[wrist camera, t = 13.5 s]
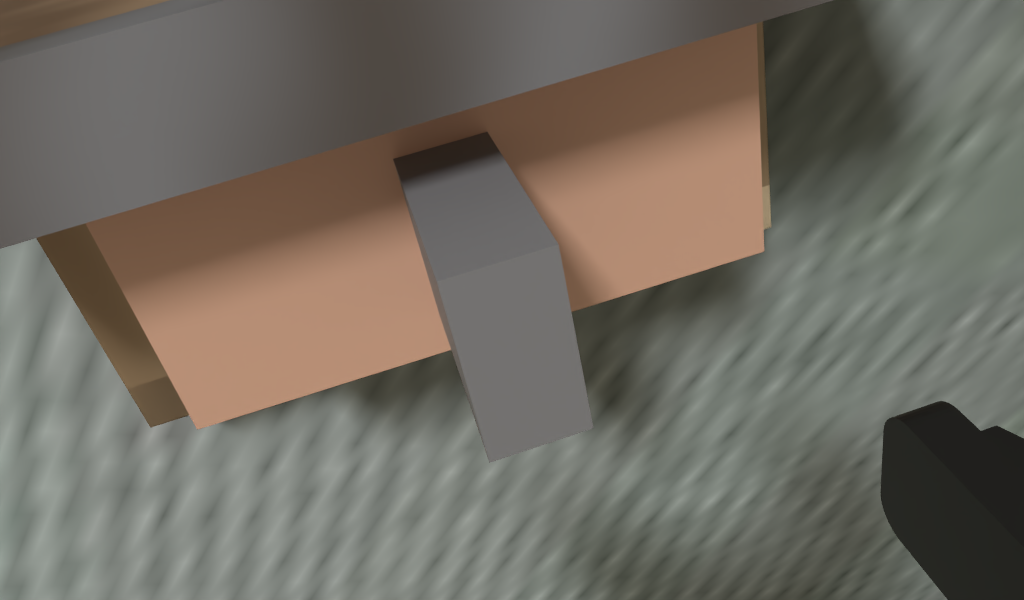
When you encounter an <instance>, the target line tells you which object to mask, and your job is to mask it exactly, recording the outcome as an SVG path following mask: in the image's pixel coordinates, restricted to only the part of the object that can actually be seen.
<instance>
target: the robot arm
mask: <svg viewBox="0 0 1024 600" xmlns="http://www.w3.org/2000/svg"><path fill="white" fill-rule="evenodd" d="M881 501H882V505H883V509H884V512H885V515H886V517H887V519H888V522H889V524H890V526H891V527H892V529H893V531H894V533H895V534H896V536H897V537H898V538H899V540H900V541H901V542H902V544H903V545H904V546H905V547H906V549H907V550H908V551H909V552H910V553H911V555H912V556H913V557H914V558H915V560H916V561H917V562H918V563H919V565H920V566H921V567H922V568H923V570H924V571H925V572H926V573H927V574H928V576H929V577H930V578H931V579H932V581H933V582H934V583H935V584H936V586H937V587H938V588H939V589H940V591H941V592H942V593H943V594H944V595H945V597H946V598H947V599H948V600H1024V439H1023V438H1021V437H1019V436H1017V435H1015V434H1013V433H1011V432H1009V431H1007V430H1005V429H1003V428H1001V427H999V426H994V427H991V428H988V429H986V430H983V431H980V430H979V429H978V428H977V427H976V426H975V425H974V424H973V423H972V422H970V421H969V420H968V419H967V418H966V417H965V416H964V415H963V414H962V413H961V412H960V411H959V410H958V409H957V408H955V407H954V406H953V405H951V404H949V403H947V402H944V401H939V402H936V403H933V404H930V405H927V406H924V407H921V408H918V409H915V410H912V411H909V412H907V413H904V414H901V415H898V416H895V417H892V418H889V419H888V420H887V421H886V422H885V425H884V434H883V454H882V475H881Z"/></svg>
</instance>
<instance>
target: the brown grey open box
mask: <svg viewBox="0 0 1024 600" xmlns="http://www.w3.org/2000/svg"><path fill="white" fill-rule="evenodd" d="M830 1H833V0H0V249H1V248H4V247H7V246H11V245H14V244H17V243H21V242H24V241H27V240H31V239H34V238H37V240H38V242H39V243H40V245H41V247H42V248H43V250H44V252H45V253H46V255H47V257H48V258H49V260H50V262H51V263H52V265H53V267H54V268H55V270H56V272H57V273H58V275H59V277H60V278H61V280H62V281H63V283H64V285H65V286H66V288H67V290H68V291H69V293H70V295H71V296H72V298H73V300H74V301H75V303H76V305H77V306H78V308H79V310H80V311H81V313H82V315H83V316H84V318H85V320H86V321H87V323H88V325H89V326H90V328H91V330H92V331H93V333H94V335H95V336H96V338H97V339H98V341H99V343H100V344H101V346H102V348H103V349H104V351H105V353H106V354H107V356H108V358H109V359H110V361H111V363H112V364H113V366H114V368H115V369H116V371H117V373H118V374H119V376H120V378H121V379H122V381H123V383H124V384H125V386H126V388H127V389H128V391H129V393H130V394H131V396H132V397H133V399H134V401H135V402H136V404H137V406H138V407H139V409H140V411H141V412H142V414H143V416H144V417H145V419H146V421H147V422H148V424H149V426H150V427H154V426H157V425H160V424H163V423H166V422H169V421H173V420H176V419H179V418H182V417H185V416H188V415H189V413H188V411H187V410H186V408H185V406H184V404H183V402H182V400H181V399H180V397H179V395H178V393H177V391H176V389H175V388H174V386H173V384H172V382H171V380H170V378H169V376H168V375H167V373H166V371H165V369H164V367H163V365H162V364H161V362H160V360H159V358H158V356H157V354H156V353H155V351H154V349H153V347H152V345H151V343H150V342H149V340H148V338H147V336H146V334H145V332H144V330H143V329H142V327H141V325H140V323H139V321H138V319H137V318H136V316H135V314H134V312H133V310H132V308H131V307H130V305H129V303H128V301H127V299H126V297H125V295H124V294H123V292H122V290H121V288H120V286H119V284H118V283H117V281H116V279H115V277H114V275H113V273H112V272H111V270H110V268H109V266H108V264H107V262H106V261H105V259H104V257H103V255H102V253H101V251H100V249H99V248H98V246H97V244H96V242H95V240H94V238H93V237H92V235H91V233H90V231H89V229H88V227H87V226H86V224H85V223H88V222H91V221H95V220H98V219H101V218H105V217H108V216H111V215H115V214H118V213H121V212H125V211H128V210H132V209H135V208H138V207H142V206H145V205H148V204H152V203H155V202H158V201H162V200H165V199H168V198H172V197H175V196H179V195H182V194H185V193H189V192H192V191H195V190H199V189H202V188H205V187H209V186H212V185H215V184H219V183H222V182H226V181H229V180H232V179H236V178H239V177H242V176H246V175H249V174H252V173H256V172H259V171H262V170H266V169H269V168H272V167H276V166H279V165H283V164H286V163H289V162H293V161H296V160H299V159H303V158H306V157H309V156H313V155H316V154H319V153H323V152H326V151H330V150H333V149H336V148H340V147H343V146H346V145H350V144H353V143H356V142H360V141H363V140H366V139H370V138H373V137H377V136H380V135H383V134H387V133H390V132H393V131H397V130H400V129H403V128H407V127H410V126H413V125H417V124H420V123H424V122H427V121H430V120H434V119H437V118H440V117H444V116H447V115H450V114H454V113H457V112H460V111H464V110H467V109H471V108H474V107H477V106H481V105H484V104H487V103H491V102H494V101H497V100H501V99H504V98H507V97H511V96H514V95H518V94H521V93H524V92H528V91H531V90H534V89H538V88H541V87H544V86H548V85H551V84H554V83H558V82H561V81H565V80H568V79H571V78H575V77H578V76H581V75H585V74H588V73H591V72H595V71H598V70H601V69H605V68H608V67H612V66H615V65H618V64H622V63H625V62H628V61H632V60H635V59H638V58H642V57H645V56H648V55H652V54H655V53H658V52H662V51H665V50H669V49H672V48H675V47H679V46H682V45H685V44H689V43H692V42H695V41H699V40H702V39H705V38H709V37H712V36H716V35H719V34H722V33H726V32H729V31H732V30H736V29H739V28H742V27H746V26H749V25H752V24H756V23H757V49H758V79H759V109H760V139H761V169H762V199H763V229H767V228H770V227H771V211H770V186H769V161H768V136H767V110H766V85H765V60H764V35H763V21H766V20H769V19H773V18H776V17H779V16H783V15H786V14H789V13H793V12H796V11H799V10H803V9H806V8H810V7H813V6H816V5H820V4H823V3H826V2H830Z"/></svg>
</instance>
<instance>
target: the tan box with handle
mask: <svg viewBox="0 0 1024 600" xmlns="http://www.w3.org/2000/svg"><path fill="white" fill-rule="evenodd" d="M85 224H86V226H87V227H88V229H89V231H90V233H91V235H92V237H93V238H94V240H95V242H96V244H97V246H98V248H99V249H100V251H101V253H102V255H103V257H104V259H105V261H106V262H107V264H108V266H109V268H110V270H111V272H112V273H113V275H114V277H115V279H116V281H117V283H118V284H119V286H120V288H121V290H122V292H123V294H124V295H125V297H126V299H127V301H128V303H129V305H130V307H131V308H132V310H133V312H134V314H135V316H136V318H137V319H138V321H139V323H140V325H141V327H142V329H143V330H144V332H145V334H146V336H147V338H148V340H149V342H150V343H151V345H152V347H153V349H154V351H155V353H156V354H157V356H158V358H159V360H160V362H161V364H162V365H163V367H164V369H165V371H166V373H167V375H168V376H169V378H170V380H171V382H172V384H173V386H174V388H175V389H176V391H177V393H178V395H179V397H180V399H181V400H182V402H183V404H184V406H185V408H186V410H187V411H188V413H189V415H190V417H191V419H192V421H193V423H194V424H195V426H196V428H197V430H198V429H201V428H204V427H207V426H210V425H214V424H217V423H220V422H223V421H226V420H229V419H233V418H236V417H239V416H242V415H245V414H249V413H252V412H255V411H258V410H261V409H264V408H268V407H271V406H274V405H277V404H280V403H284V402H287V401H290V400H293V399H296V398H299V397H303V396H306V395H309V394H312V393H315V392H319V391H322V390H325V389H328V388H331V387H334V386H338V385H341V384H344V383H347V382H350V381H354V380H357V379H360V378H363V377H366V376H369V375H373V374H376V373H379V372H382V371H385V370H389V369H392V368H395V367H398V366H401V365H404V364H408V363H411V362H414V361H417V360H420V359H424V358H427V357H430V356H433V355H436V354H439V353H443V352H446V351H449V350H452V353H453V356H454V359H455V362H456V365H457V368H458V371H459V374H460V377H461V380H462V383H463V386H464V389H465V392H466V395H467V398H468V401H469V403H470V406H471V409H472V412H473V415H474V418H475V421H476V424H477V427H478V430H479V433H480V436H481V439H482V442H483V445H484V448H485V451H486V454H487V456H488V459H489V462H493V461H496V460H499V459H502V458H505V457H508V456H511V455H514V454H517V453H520V452H523V451H526V450H529V449H532V448H535V447H538V446H541V445H544V444H547V443H550V442H553V441H556V440H559V439H562V438H565V437H568V436H571V435H574V434H578V433H581V432H584V431H587V430H590V429H593V423H592V417H591V412H590V407H589V402H588V396H587V391H586V386H585V381H584V375H583V370H582V365H581V360H580V354H579V349H578V344H577V339H576V333H575V328H574V323H573V318H572V312H573V311H576V310H579V309H583V308H586V307H589V306H592V305H595V304H599V303H602V302H605V301H608V300H611V299H614V298H618V297H621V296H624V295H627V294H630V293H634V292H637V291H640V290H643V289H646V288H649V287H653V286H656V285H659V284H662V283H665V282H669V281H672V280H675V279H678V278H681V277H684V276H688V275H691V274H694V273H697V272H700V271H704V270H707V269H710V268H713V267H716V266H719V265H723V264H726V263H729V262H732V261H735V260H739V259H742V258H745V257H748V256H751V255H754V254H758V253H761V252H764V229H763V199H762V169H761V139H760V109H759V79H758V49H757V23H756V24H752V25H749V26H746V27H742V28H739V29H736V30H732V31H729V32H726V33H722V34H719V35H716V36H712V37H709V38H705V39H702V40H699V41H695V42H692V43H689V44H685V45H682V46H679V47H675V48H672V49H669V50H665V51H662V52H658V53H655V54H652V55H648V56H645V57H642V58H638V59H635V60H632V61H628V62H625V63H622V64H618V65H615V66H612V67H608V68H605V69H601V70H598V71H595V72H591V73H588V74H585V75H581V76H578V77H575V78H571V79H568V80H565V81H561V82H558V83H554V84H551V85H548V86H544V87H541V88H538V89H534V90H531V91H528V92H524V93H521V94H518V95H514V96H511V97H507V98H504V99H501V100H497V101H494V102H491V103H487V104H484V105H481V106H477V107H474V108H471V109H467V110H464V111H460V112H457V113H454V114H450V115H447V116H444V117H440V118H437V119H434V120H430V121H427V122H424V123H420V124H417V125H413V126H410V127H407V128H403V129H400V130H397V131H393V132H390V133H387V134H383V135H380V136H377V137H373V138H370V139H366V140H363V141H360V142H356V143H353V144H350V145H346V146H343V147H340V148H336V149H333V150H330V151H326V152H323V153H319V154H316V155H313V156H309V157H306V158H303V159H299V160H296V161H293V162H289V163H286V164H283V165H279V166H276V167H272V168H269V169H266V170H262V171H259V172H256V173H252V174H249V175H246V176H242V177H239V178H236V179H232V180H229V181H226V182H222V183H219V184H215V185H212V186H209V187H205V188H202V189H199V190H195V191H192V192H189V193H185V194H182V195H179V196H175V197H172V198H168V199H165V200H162V201H158V202H155V203H152V204H148V205H145V206H142V207H138V208H135V209H132V210H128V211H125V212H121V213H118V214H115V215H111V216H108V217H105V218H101V219H98V220H95V221H91V222H88V223H85Z"/></svg>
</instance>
